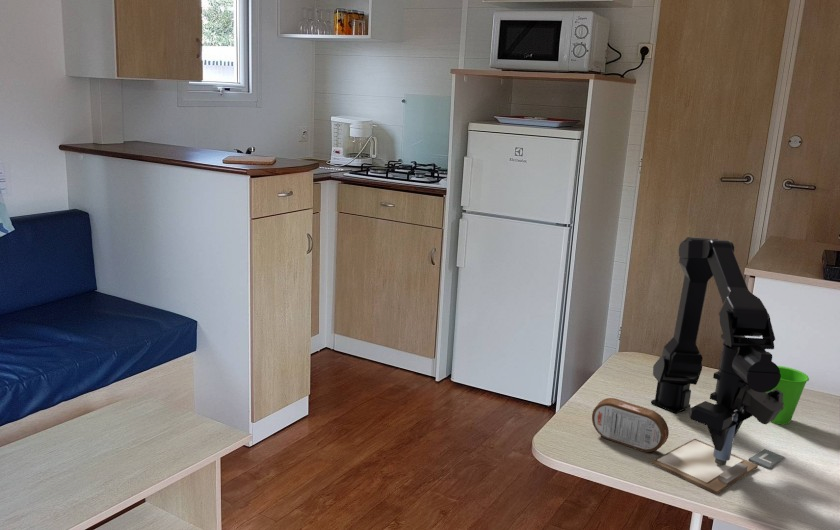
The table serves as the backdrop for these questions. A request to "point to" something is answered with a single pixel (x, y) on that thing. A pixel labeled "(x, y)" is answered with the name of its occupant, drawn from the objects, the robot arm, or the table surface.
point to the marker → (726, 446)
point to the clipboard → (704, 466)
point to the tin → (630, 424)
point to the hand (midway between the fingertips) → (722, 447)
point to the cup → (789, 392)
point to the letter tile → (766, 458)
